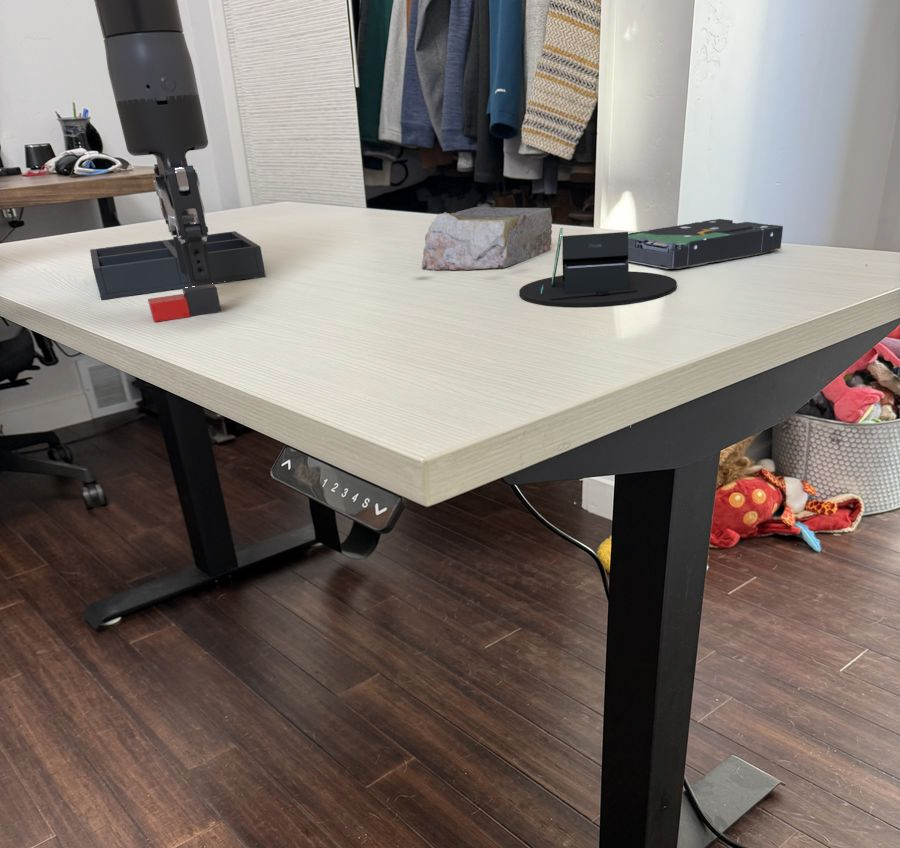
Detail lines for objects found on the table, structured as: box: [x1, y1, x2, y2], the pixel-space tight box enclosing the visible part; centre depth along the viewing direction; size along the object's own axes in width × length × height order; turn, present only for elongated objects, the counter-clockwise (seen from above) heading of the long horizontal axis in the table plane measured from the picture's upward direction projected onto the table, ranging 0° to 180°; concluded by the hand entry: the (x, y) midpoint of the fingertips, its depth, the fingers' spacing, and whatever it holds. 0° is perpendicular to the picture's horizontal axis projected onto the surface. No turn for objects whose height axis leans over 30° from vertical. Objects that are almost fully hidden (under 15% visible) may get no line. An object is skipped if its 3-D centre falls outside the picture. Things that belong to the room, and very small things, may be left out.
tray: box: [89, 230, 266, 301], centre depth 110 cm, size 19×19×4 cm
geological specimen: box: [421, 206, 553, 271], centre depth 103 cm, size 11×6×15 cm
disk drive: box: [628, 218, 784, 270], centre depth 94 cm, size 10×3×15 cm
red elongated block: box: [147, 284, 222, 323], centre depth 88 cm, size 7×3×2 cm, turn 111°
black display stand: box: [518, 227, 678, 308], centre depth 82 cm, size 15×15×6 cm
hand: (197, 278), depth 87 cm, fingers open, 8 cm apart
